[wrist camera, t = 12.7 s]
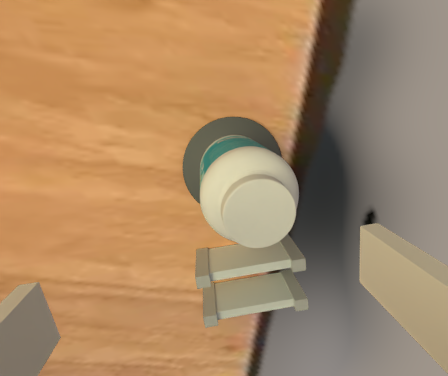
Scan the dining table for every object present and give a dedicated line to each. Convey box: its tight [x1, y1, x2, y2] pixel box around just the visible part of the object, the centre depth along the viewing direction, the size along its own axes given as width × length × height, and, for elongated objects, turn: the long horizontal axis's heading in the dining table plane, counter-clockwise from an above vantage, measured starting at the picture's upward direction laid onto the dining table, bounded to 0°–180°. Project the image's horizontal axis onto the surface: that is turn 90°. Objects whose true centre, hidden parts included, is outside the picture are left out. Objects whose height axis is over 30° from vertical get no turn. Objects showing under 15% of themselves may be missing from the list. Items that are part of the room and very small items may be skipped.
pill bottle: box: [200, 135, 299, 248], centre depth 23 cm, size 8×7×14 cm
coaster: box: [183, 117, 281, 204], centre depth 29 cm, size 11×11×1 cm
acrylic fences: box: [195, 234, 308, 328], centre depth 31 cm, size 11×6×6 cm, turn 98°
